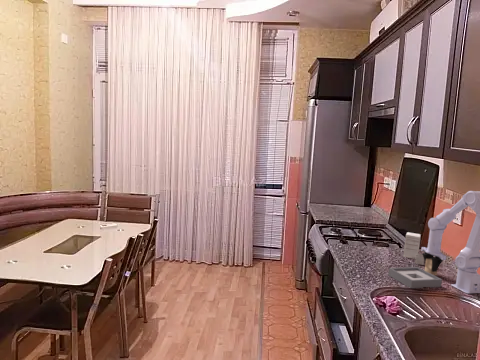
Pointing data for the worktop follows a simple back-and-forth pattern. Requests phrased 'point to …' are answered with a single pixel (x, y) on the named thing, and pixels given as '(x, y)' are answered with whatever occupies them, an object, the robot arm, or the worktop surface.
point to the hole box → (414, 277)
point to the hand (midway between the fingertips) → (431, 269)
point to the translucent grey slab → (419, 259)
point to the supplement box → (411, 245)
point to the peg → (429, 267)
